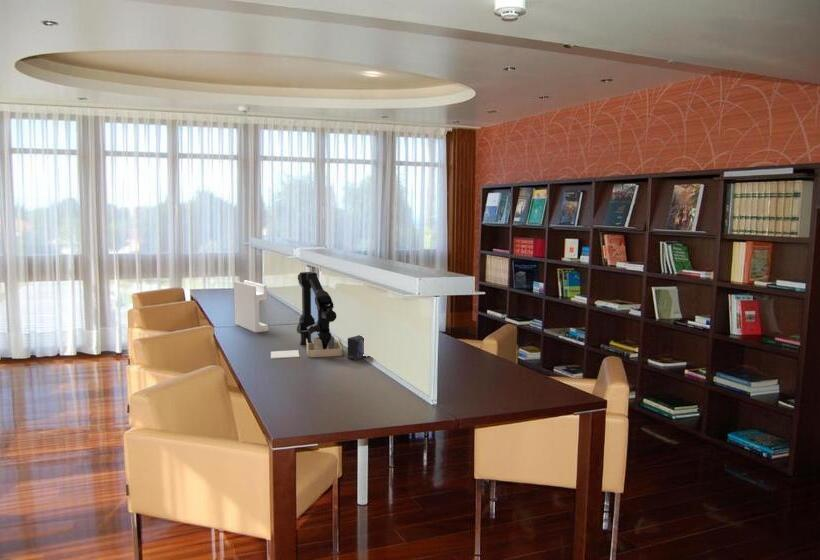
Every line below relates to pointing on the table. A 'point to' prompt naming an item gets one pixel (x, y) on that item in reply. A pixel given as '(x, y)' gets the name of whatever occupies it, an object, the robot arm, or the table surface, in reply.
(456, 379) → the table surface
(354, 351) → the small box
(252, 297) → the block
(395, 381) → the table surface
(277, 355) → the white square tile
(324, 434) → the table surface
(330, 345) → the block
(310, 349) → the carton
